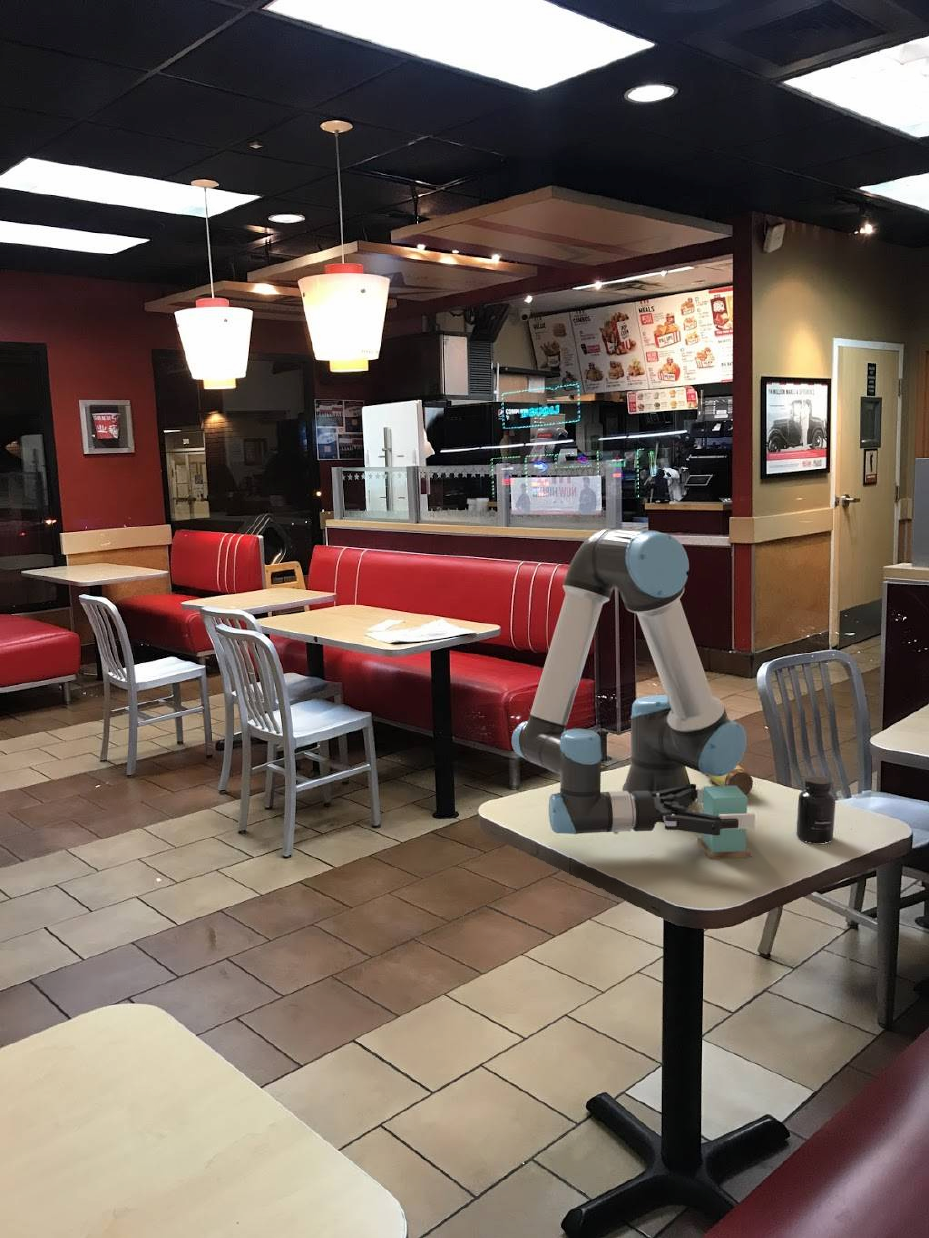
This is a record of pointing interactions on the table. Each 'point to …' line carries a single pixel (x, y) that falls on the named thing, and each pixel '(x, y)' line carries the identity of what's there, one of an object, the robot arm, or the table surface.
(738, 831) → the tall teal pillar
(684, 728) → the robot arm
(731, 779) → the sauce bottle
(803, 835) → the supplement bottle
